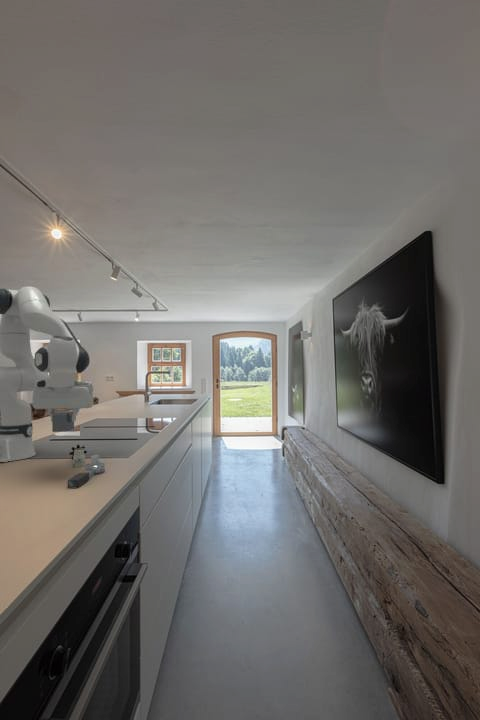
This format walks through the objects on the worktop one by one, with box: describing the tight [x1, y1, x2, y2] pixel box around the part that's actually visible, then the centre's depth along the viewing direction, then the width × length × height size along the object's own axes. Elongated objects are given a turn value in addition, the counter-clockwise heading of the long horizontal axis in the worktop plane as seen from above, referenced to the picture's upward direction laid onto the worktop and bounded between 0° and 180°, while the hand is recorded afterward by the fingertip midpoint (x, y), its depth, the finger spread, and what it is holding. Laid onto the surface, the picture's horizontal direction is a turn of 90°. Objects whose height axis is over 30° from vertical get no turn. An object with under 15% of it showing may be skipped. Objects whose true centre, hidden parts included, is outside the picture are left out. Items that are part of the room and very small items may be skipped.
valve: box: [68, 444, 88, 468], centre depth 140 cm, size 7×7×12 cm
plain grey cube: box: [51, 410, 75, 433], centre depth 123 cm, size 5×5×6 cm
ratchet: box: [67, 454, 106, 489], centre depth 121 cm, size 6×20×6 cm, turn 179°
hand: (63, 421), depth 123 cm, fingers closed on plain grey cube, 5 cm apart
